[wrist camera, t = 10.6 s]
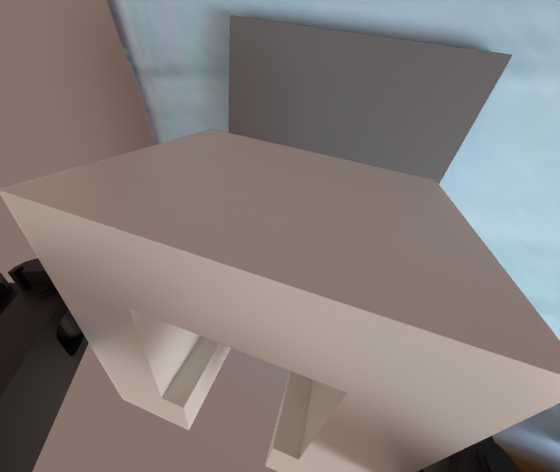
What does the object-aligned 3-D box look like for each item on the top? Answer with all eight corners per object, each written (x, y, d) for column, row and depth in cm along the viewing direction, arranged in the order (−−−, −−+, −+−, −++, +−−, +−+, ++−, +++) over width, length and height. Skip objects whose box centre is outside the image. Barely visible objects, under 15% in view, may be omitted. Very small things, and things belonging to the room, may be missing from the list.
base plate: (240, 20, 16) (179, -13, 11) (498, 57, 13) (587, 39, 8) (232, 248, 27) (201, 287, 22) (370, 292, 25) (372, 348, 19)
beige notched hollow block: (212, 128, 11) (-3, 189, 5) (435, 180, 9) (594, 385, 3) (215, 278, 17) (122, 399, 10) (354, 325, 15) (348, 504, 9)
